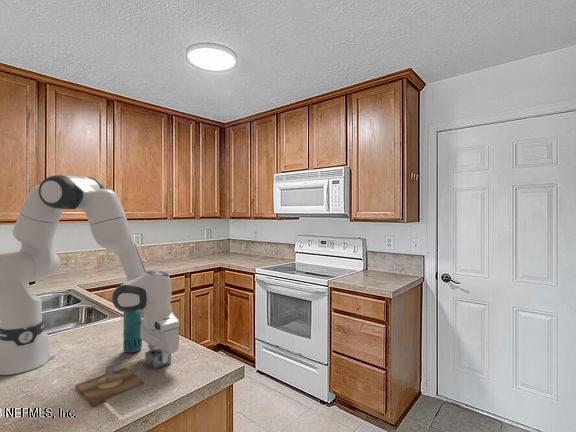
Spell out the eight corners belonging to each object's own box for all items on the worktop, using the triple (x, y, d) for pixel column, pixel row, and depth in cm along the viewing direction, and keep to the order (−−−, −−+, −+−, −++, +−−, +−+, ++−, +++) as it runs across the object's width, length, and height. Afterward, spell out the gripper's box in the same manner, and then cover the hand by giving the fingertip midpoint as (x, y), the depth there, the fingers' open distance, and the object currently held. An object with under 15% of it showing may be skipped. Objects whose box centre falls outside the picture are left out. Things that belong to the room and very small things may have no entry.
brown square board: (75, 388, 96) (75, 368, 96) (124, 371, 107) (124, 353, 107) (93, 407, 87) (92, 385, 87) (144, 385, 98) (144, 366, 98)
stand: (140, 366, 110) (140, 351, 110) (163, 358, 116) (163, 344, 116) (152, 374, 105) (152, 358, 105) (175, 365, 111) (174, 350, 111)
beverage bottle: (121, 357, 117) (120, 302, 116) (125, 350, 123) (124, 297, 123) (140, 355, 118) (140, 301, 118) (143, 348, 125) (143, 296, 125)
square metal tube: (145, 364, 110) (145, 352, 110) (162, 357, 115) (162, 346, 114) (154, 369, 106) (153, 357, 106) (171, 363, 111) (170, 351, 111)
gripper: (134, 314, 115) (135, 353, 115) (164, 327, 101) (164, 371, 101) (152, 310, 119) (152, 347, 120) (182, 322, 106) (183, 364, 106)
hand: (158, 358), depth 110 cm, fingers closed on square metal tube, 6 cm apart
